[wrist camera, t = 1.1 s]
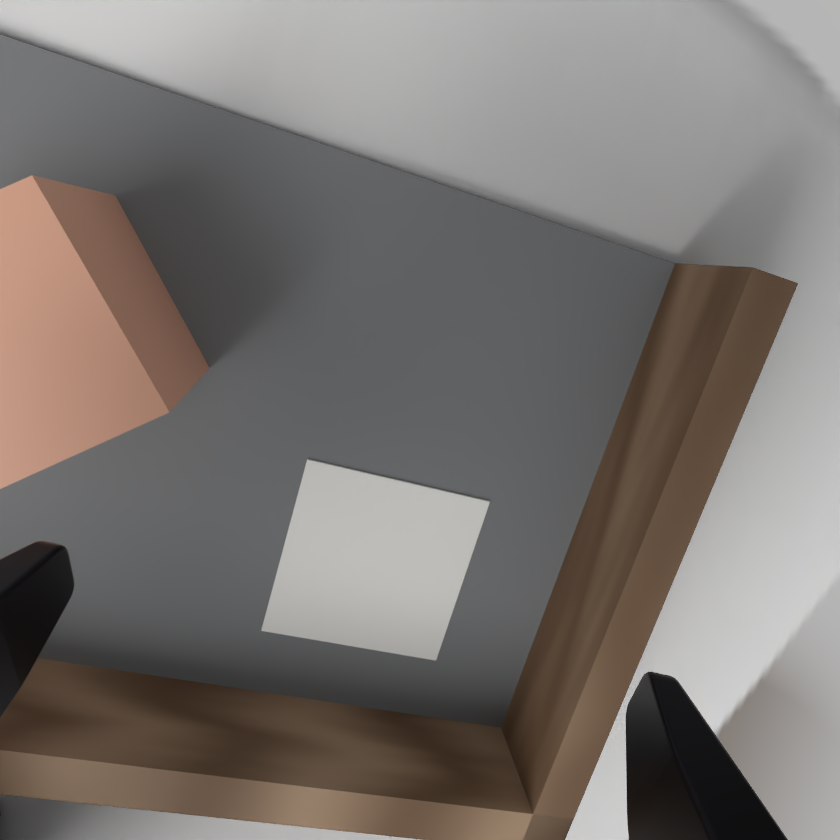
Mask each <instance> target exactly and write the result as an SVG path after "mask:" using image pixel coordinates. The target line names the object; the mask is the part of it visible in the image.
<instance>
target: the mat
mask: <svg viewBox="0 0 840 840" xmlns="http://www.w3.org/2000/svg"><path fill="white" fill-rule="evenodd" d="M31 175H33V176H37V177H41V178H45V179H49V180H54V181H58V182H62V183H66V184H70V185H74V186H78V187H83V188H87V189H91V190H95V191H99V192H103V193H107V194H112V195H115V196H116V197H117V199H118V201H119V203H120V205H121V207H122V208H123V210H124V212H125V214H126V216H127V218H128V219H129V221H130V223H131V225H132V227H133V229H134V230H135V232H136V234H137V236H138V238H139V240H140V241H141V243H142V245H143V247H144V249H145V251H146V252H147V254H148V256H149V258H150V260H151V262H152V263H153V265H154V267H155V269H156V271H157V273H158V274H159V276H160V278H161V280H162V282H163V284H164V285H165V287H166V289H167V291H168V293H169V295H170V296H171V298H172V300H173V302H174V304H175V306H176V307H177V309H178V311H179V313H180V315H181V317H182V318H183V320H184V322H185V324H186V326H187V328H188V329H189V331H190V333H191V335H192V337H193V339H194V340H195V342H196V344H197V346H198V348H199V349H200V351H201V353H202V355H203V357H204V359H205V360H206V362H207V364H208V366H209V369H208V371H207V372H206V373H205V374H204V375H203V376H202V377H201V378H200V379H199V380H198V382H197V383H196V384H195V385H194V386H193V387H192V388H191V389H190V390H189V391H188V393H187V394H186V395H185V396H184V397H183V398H182V399H181V400H180V401H179V403H178V404H177V405H176V406H175V407H174V408H173V409H172V410H171V411H170V412H169V413H167V414H165V415H163V416H160V417H158V418H156V419H154V420H152V421H149V422H147V423H145V424H143V425H141V426H138V427H136V428H134V429H132V430H129V431H127V432H125V433H123V434H121V435H118V436H116V437H114V438H112V439H110V440H107V441H105V442H103V443H101V444H99V445H96V446H94V447H92V448H90V449H88V450H85V451H83V452H81V453H79V454H76V455H74V456H72V457H70V458H68V459H65V460H63V461H61V462H59V463H57V464H54V465H52V466H50V467H48V468H46V469H43V470H41V471H39V472H37V473H34V474H32V475H30V476H28V477H26V478H23V479H21V480H19V481H17V482H15V483H12V484H10V485H8V486H6V487H4V488H1V489H0V559H1V558H3V557H5V556H7V555H9V554H11V553H13V552H15V551H17V550H19V549H21V548H23V547H25V546H27V545H29V544H32V543H34V542H37V541H46V542H51V543H56V544H60V545H63V546H65V547H66V548H67V550H68V552H69V557H70V562H71V566H72V571H73V576H74V582H75V583H74V590H73V594H72V596H71V598H70V600H69V602H68V604H67V606H66V607H65V609H64V611H63V613H62V615H61V617H60V618H59V620H58V622H57V624H56V626H55V627H54V629H53V631H52V633H51V635H50V637H49V638H48V640H47V642H46V644H45V646H44V647H43V649H42V651H41V653H40V655H39V656H38V658H41V659H47V660H54V661H61V662H67V663H74V664H81V665H87V666H94V667H101V668H107V669H114V670H121V671H127V672H134V673H141V674H147V675H154V676H160V677H167V678H174V679H180V680H187V681H194V682H200V683H207V684H214V685H220V686H227V687H234V688H240V689H247V690H254V691H260V692H267V693H274V694H280V695H287V696H294V697H300V698H307V699H313V700H320V701H327V702H333V703H340V704H347V705H353V706H360V707H367V708H373V709H380V710H387V711H393V712H400V713H407V714H413V715H420V716H427V717H433V718H440V719H447V720H453V721H460V722H466V723H473V724H480V725H486V726H493V727H500V728H501V726H502V724H503V721H504V718H505V716H506V713H507V710H508V708H509V705H510V702H511V700H512V697H513V694H514V692H515V689H516V686H517V684H518V681H519V678H520V676H521V673H522V670H523V668H524V665H525V662H526V660H527V657H528V654H529V652H530V649H531V646H532V644H533V641H534V638H535V636H536V633H537V630H538V628H539V625H540V622H541V620H542V617H543V614H544V612H545V609H546V606H547V604H548V601H549V598H550V596H551V593H552V590H553V588H554V585H555V582H556V580H557V577H558V574H559V571H560V569H561V566H562V563H563V561H564V558H565V555H566V553H567V550H568V547H569V545H570V542H571V539H572V537H573V534H574V531H575V529H576V526H577V523H578V521H579V518H580V515H581V513H582V510H583V507H584V505H585V502H586V499H587V497H588V494H589V491H590V489H591V486H592V483H593V481H594V478H595V475H596V473H597V470H598V467H599V465H600V462H601V459H602V457H603V454H604V451H605V449H606V446H607V443H608V441H609V438H610V435H611V433H612V430H613V427H614V425H615V422H616V419H617V417H618V414H619V411H620V409H621V406H622V403H623V401H624V398H625V395H626V393H627V390H628V387H629V385H630V382H631V379H632V377H633V374H634V371H635V369H636V366H637V363H638V361H639V358H640V355H641V353H642V350H643V347H644V345H645V342H646V339H647V337H648V334H649V331H650V329H651V326H652V323H653V321H654V318H655V315H656V313H657V310H658V307H659V305H660V302H661V299H662V297H663V294H664V291H665V289H666V286H667V283H668V281H669V278H670V275H671V273H672V270H673V267H674V265H675V263H672V262H669V261H666V260H663V259H660V258H657V257H654V256H651V255H648V254H645V253H643V252H640V251H637V250H634V249H631V248H628V247H625V246H622V245H619V244H616V243H613V242H610V241H607V240H604V239H601V238H598V237H595V236H592V235H590V234H587V233H584V232H581V231H578V230H575V229H572V228H569V227H566V226H563V225H560V224H557V223H554V222H551V221H548V220H545V219H542V218H539V217H537V216H534V215H531V214H528V213H525V212H522V211H519V210H516V209H513V208H510V207H507V206H504V205H501V204H498V203H495V202H492V201H489V200H486V199H484V198H481V197H478V196H475V195H472V194H469V193H466V192H463V191H460V190H457V189H454V188H451V187H448V186H445V185H442V184H439V183H436V182H433V181H431V180H428V179H425V178H422V177H419V176H416V175H413V174H410V173H407V172H404V171H401V170H398V169H395V168H392V167H389V166H386V165H383V164H381V163H378V162H375V161H372V160H369V159H366V158H363V157H360V156H357V155H354V154H351V153H348V152H345V151H342V150H339V149H336V148H333V147H330V146H328V145H325V144H322V143H319V142H316V141H313V140H310V139H307V138H304V137H301V136H298V135H295V134H292V133H289V132H286V131H283V130H280V129H277V128H275V127H272V126H269V125H266V124H263V123H260V122H257V121H254V120H251V119H248V118H245V117H242V116H239V115H236V114H233V113H230V112H227V111H224V110H222V109H219V108H216V107H213V106H210V105H207V104H204V103H201V102H198V101H195V100H192V99H189V98H186V97H183V96H180V95H177V94H174V93H171V92H169V91H166V90H163V89H160V88H157V87H154V86H151V85H148V84H145V83H142V82H139V81H136V80H133V79H130V78H127V77H124V76H121V75H118V74H116V73H113V72H110V71H107V70H104V69H101V68H98V67H95V66H92V65H89V64H86V63H83V62H80V61H77V60H74V59H71V58H68V57H66V56H63V55H60V54H57V53H54V52H51V51H48V50H45V49H42V48H39V47H36V46H33V45H30V44H27V43H24V42H21V41H18V40H15V39H13V38H10V37H7V36H4V35H1V34H0V189H2V188H4V187H6V186H9V185H11V184H13V183H16V182H18V181H20V180H22V179H25V178H27V177H29V176H31Z"/></svg>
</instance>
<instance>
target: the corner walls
mask: <svg viewBox="0 0 840 840" xmlns="http://www.w3.org/2000/svg"><path fill="white" fill-rule="evenodd" d="M797 284H798V283H795V282H793V281H790V280H787V279H784V278H781V277H778V276H775V275H773V274H770V273H767V272H764V271H761V270H758V269H755V268H751V267H732V266H713V265H694V264H675V265H674V267H673V270H672V273H671V275H670V278H669V281H668V283H667V286H666V289H665V291H664V294H663V297H662V299H661V302H660V305H659V307H658V310H657V313H656V315H655V318H654V321H653V323H652V326H651V329H650V331H649V334H648V337H647V339H646V342H645V345H644V347H643V350H642V353H641V355H640V358H639V361H638V363H637V366H636V369H635V371H634V374H633V377H632V379H631V382H630V385H629V387H628V390H627V393H626V395H625V398H624V401H623V403H622V406H621V409H620V411H619V414H618V417H617V419H616V422H615V425H614V427H613V430H612V433H611V435H610V438H609V441H608V443H607V446H606V449H605V451H604V454H603V457H602V459H601V462H600V465H599V467H598V470H597V473H596V475H595V478H594V481H593V483H592V486H591V489H590V491H589V494H588V497H587V499H586V502H585V505H584V507H583V510H582V513H581V515H580V518H579V521H578V523H577V526H576V529H575V531H574V534H573V537H572V539H571V542H570V545H569V547H568V550H567V553H566V555H565V558H564V561H563V563H562V566H561V569H560V571H559V574H558V577H557V580H556V582H555V585H554V588H553V590H552V593H551V596H550V598H549V601H548V604H547V606H546V609H545V612H544V614H543V617H542V620H541V622H540V625H539V628H538V630H537V633H536V636H535V638H534V641H533V644H532V646H531V649H530V652H529V654H528V657H527V660H526V662H525V665H524V668H523V670H522V673H521V676H520V678H519V681H518V684H517V686H516V689H515V692H514V694H513V697H512V700H511V702H510V705H509V708H508V710H507V713H506V716H505V718H504V721H503V724H502V726H501V728H500V727H493V726H486V725H480V724H473V723H466V722H460V721H453V720H447V719H440V718H433V717H427V716H420V715H413V714H407V713H400V712H393V711H387V710H380V709H373V708H367V707H360V706H353V705H347V704H340V703H333V702H327V701H320V700H313V699H307V698H300V697H294V696H287V695H280V694H274V693H267V692H260V691H254V690H247V689H240V688H234V687H227V686H220V685H214V684H207V683H200V682H194V681H187V680H180V679H174V678H167V677H160V676H154V675H147V674H141V673H134V672H127V671H121V670H114V669H107V668H101V667H94V666H87V665H81V664H74V663H67V662H61V661H54V660H47V659H41V658H37V660H36V662H35V664H34V666H33V667H32V669H31V671H30V673H29V674H28V676H27V678H26V680H25V681H24V683H23V685H22V686H21V688H20V690H19V691H18V693H17V694H16V696H15V697H14V699H13V700H12V702H11V703H10V705H9V706H8V708H7V709H6V710H5V712H4V713H3V715H2V716H1V718H0V794H1V795H10V796H20V797H29V798H39V799H48V800H57V801H67V802H76V803H85V804H95V805H104V806H113V807H123V808H132V809H141V810H151V811H160V812H170V813H179V814H188V815H198V816H207V817H216V818H226V819H235V820H244V821H254V822H263V823H273V824H282V825H291V826H301V827H310V828H319V829H329V830H338V831H347V832H357V833H366V834H376V835H385V836H394V837H404V838H413V839H422V840H565V838H566V836H567V833H568V831H569V828H570V826H571V824H572V821H573V819H574V817H575V814H576V812H577V809H578V807H579V805H580V802H581V800H582V797H583V795H584V793H585V790H586V788H587V786H588V783H589V781H590V778H591V776H592V774H593V771H594V769H595V766H596V764H597V762H598V759H599V757H600V755H601V752H602V750H603V747H604V745H605V743H606V740H607V738H608V735H609V733H610V731H611V728H612V726H613V724H614V721H615V719H616V716H617V714H618V712H619V709H620V707H621V704H622V702H623V700H624V697H625V695H626V692H627V690H628V688H629V685H630V683H631V681H632V678H633V676H634V673H635V671H636V669H637V666H638V664H639V661H640V659H641V657H642V654H643V652H644V650H645V647H646V645H647V642H648V640H649V638H650V635H651V633H652V630H653V628H654V626H655V623H656V621H657V619H658V616H659V614H660V611H661V609H662V607H663V604H664V602H665V599H666V597H667V595H668V592H669V590H670V588H671V585H672V583H673V580H674V578H675V576H676V573H677V571H678V568H679V566H680V564H681V561H682V559H683V556H684V554H685V552H686V549H687V547H688V545H689V542H690V540H691V537H692V535H693V533H694V530H695V528H696V525H697V523H698V521H699V518H700V516H701V514H702V511H703V509H704V506H705V504H706V502H707V499H708V497H709V494H710V492H711V490H712V487H713V485H714V483H715V480H716V478H717V475H718V473H719V471H720V468H721V466H722V463H723V461H724V459H725V456H726V454H727V452H728V449H729V447H730V444H731V442H732V440H733V437H734V435H735V432H736V430H737V428H738V425H739V423H740V420H741V418H742V416H743V413H744V411H745V409H746V406H747V404H748V401H749V399H750V397H751V394H752V392H753V389H754V387H755V385H756V382H757V380H758V378H759V375H760V373H761V370H762V368H763V366H764V363H765V361H766V358H767V356H768V354H769V351H770V349H771V347H772V344H773V342H774V339H775V337H776V335H777V332H778V330H779V327H780V325H781V323H782V320H783V318H784V316H785V313H786V311H787V308H788V306H789V304H790V301H791V299H792V296H793V294H794V292H795V289H796V287H797Z"/></svg>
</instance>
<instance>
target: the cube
mask: <svg viewBox="0 0 840 840" xmlns="http://www.w3.org/2000/svg"><path fill="white" fill-rule="evenodd" d="M208 369H209V366H208V364H207V362H206V360H205V359H204V357H203V355H202V353H201V351H200V349H199V348H198V346H197V344H196V342H195V340H194V339H193V337H192V335H191V333H190V331H189V329H188V328H187V326H186V324H185V322H184V320H183V318H182V317H181V315H180V313H179V311H178V309H177V307H176V306H175V304H174V302H173V300H172V298H171V296H170V295H169V293H168V291H167V289H166V287H165V285H164V284H163V282H162V280H161V278H160V276H159V274H158V273H157V271H156V269H155V267H154V265H153V263H152V262H151V260H150V258H149V256H148V254H147V252H146V251H145V249H144V247H143V245H142V243H141V241H140V240H139V238H138V236H137V234H136V232H135V230H134V229H133V227H132V225H131V223H130V221H129V219H128V218H127V216H126V214H125V212H124V210H123V208H122V207H121V205H120V203H119V201H118V199H117V197H116V196H115V195H112V194H107V193H103V192H99V191H95V190H91V189H87V188H83V187H78V186H74V185H70V184H66V183H62V182H58V181H54V180H49V179H45V178H41V177H37V176H33V175H31V176H29V177H27V178H25V179H22V180H20V181H18V182H16V183H13V184H11V185H9V186H6V187H4V188H2V189H0V489H1V488H4V487H6V486H8V485H10V484H12V483H15V482H17V481H19V480H21V479H23V478H26V477H28V476H30V475H32V474H34V473H37V472H39V471H41V470H43V469H46V468H48V467H50V466H52V465H54V464H57V463H59V462H61V461H63V460H65V459H68V458H70V457H72V456H74V455H76V454H79V453H81V452H83V451H85V450H88V449H90V448H92V447H94V446H96V445H99V444H101V443H103V442H105V441H107V440H110V439H112V438H114V437H116V436H118V435H121V434H123V433H125V432H127V431H129V430H132V429H134V428H136V427H138V426H141V425H143V424H145V423H147V422H149V421H152V420H154V419H156V418H158V417H160V416H163V415H165V414H167V413H169V412H170V411H171V410H172V409H173V408H174V407H175V406H176V405H177V404H178V403H179V401H180V400H181V399H182V398H183V397H184V396H185V395H186V394H187V393H188V391H189V390H190V389H191V388H192V387H193V386H194V385H195V384H196V383H197V382H198V380H199V379H200V378H201V377H202V376H203V375H204V374H205V373H206V372H207V371H208Z"/></svg>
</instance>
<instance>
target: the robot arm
mask: <svg viewBox="0 0 840 840" xmlns="http://www.w3.org/2000/svg"><path fill="white" fill-rule="evenodd" d="M74 583H75V582H74V576H73V571H72V566H71V562H70V557H69V552H68V550H67V548H66V547H65V546H63V545H60V544H56V543H51V542H46V541H37V542H34V543H32V544H29V545H27V546H25V547H23V548H21V549H19V550H17V551H15V552H13V553H11V554H9V555H7V556H5V557H3V558H1V559H0V718H1V716H2V715H3V713H4V712H5V710H6V709H7V708H8V706H9V705H10V703H11V702H12V700H13V699H14V697H15V696H16V694H17V693H18V691H19V690H20V688H21V686H22V685H23V683H24V681H25V680H26V678H27V676H28V674H29V673H30V671H31V669H32V667H33V666H34V664H35V662H36V660H37V658H38V656H39V655H40V653H41V651H42V649H43V647H44V646H45V644H46V642H47V640H48V638H49V637H50V635H51V633H52V631H53V629H54V627H55V626H56V624H57V622H58V620H59V618H60V617H61V615H62V613H63V611H64V609H65V607H66V606H67V604H68V602H69V600H70V598H71V596H72V594H73V590H74ZM626 765H627V817H628V832H629V840H788V839H787V838H786V836H785V835H784V833H783V832H782V831H781V830H780V828H779V826H778V825H777V823H776V822H775V820H774V819H773V818H772V816H771V815H770V813H769V812H768V810H767V809H766V807H765V806H764V805H763V803H762V802H761V800H760V799H759V797H758V796H757V794H756V793H755V792H754V790H753V789H752V787H751V786H750V784H749V783H748V782H747V780H746V779H745V777H744V776H743V774H742V773H741V771H740V770H739V769H738V767H737V766H736V764H735V763H734V761H733V760H732V758H731V757H730V756H729V754H728V753H727V751H726V750H725V748H724V747H723V746H722V744H721V742H720V741H719V740H718V738H717V737H716V735H715V734H714V732H713V731H712V729H711V728H710V727H709V725H708V724H707V722H706V721H705V719H704V718H703V716H702V715H701V714H700V712H699V711H698V709H697V708H696V706H695V705H694V703H693V702H692V701H691V699H690V698H689V696H688V695H687V693H686V692H685V690H684V689H683V688H682V686H681V685H680V683H679V682H678V681H677V680H676V679H675V678H673V677H671V676H668V675H663V674H659V673H654V672H647V673H646V674H644V676H643V677H642V679H641V681H640V683H639V685H638V686H637V688H636V690H635V692H634V694H633V696H632V698H631V700H630V702H629V704H628V707H627V712H626Z"/></svg>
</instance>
